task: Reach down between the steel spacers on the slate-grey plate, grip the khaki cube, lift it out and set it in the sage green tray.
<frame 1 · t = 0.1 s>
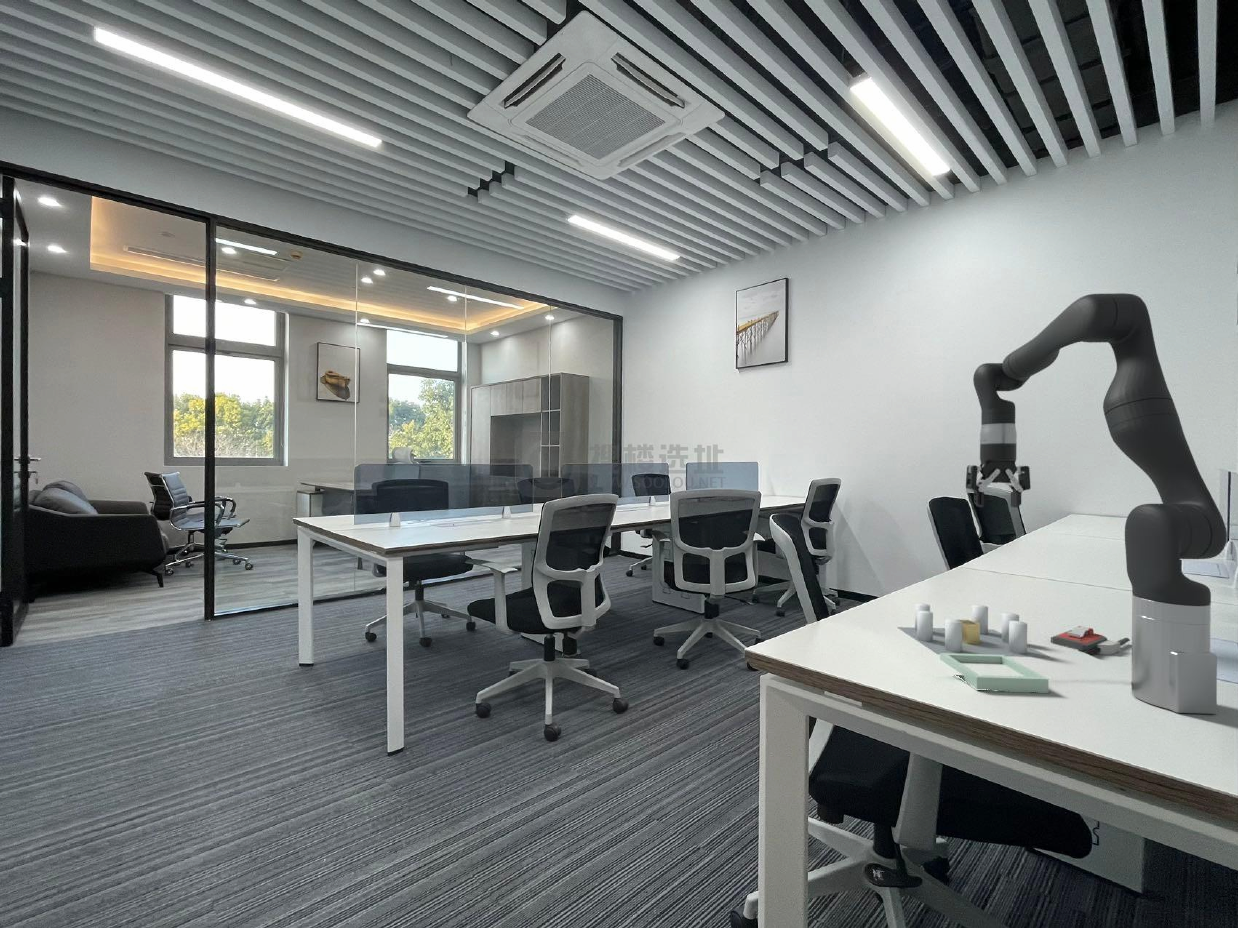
hand: (997, 506, 135), 29 cm above the table, tool pointing down, fingers open, 8 cm apart
spacer plate: (967, 646, 117), on the table
tray: (990, 678, 100), on the table
khaki cube: (967, 640, 117), point 1 cm above the table, touching spacer plate
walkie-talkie: (1090, 649, 118), on the table
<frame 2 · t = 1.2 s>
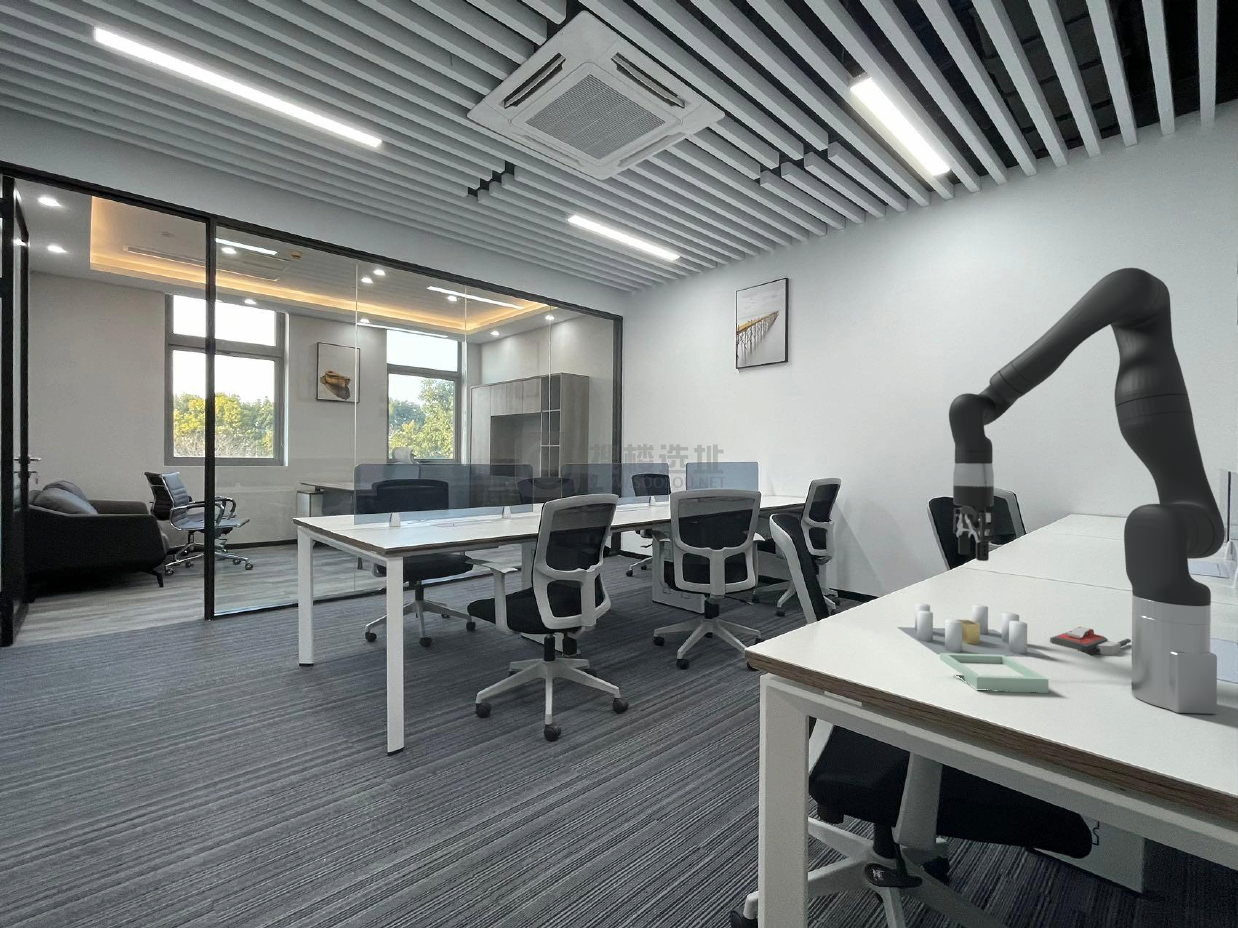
hand: (972, 557, 119), 19 cm above the table, tool pointing down, fingers open, 8 cm apart
nothing on the table moved.
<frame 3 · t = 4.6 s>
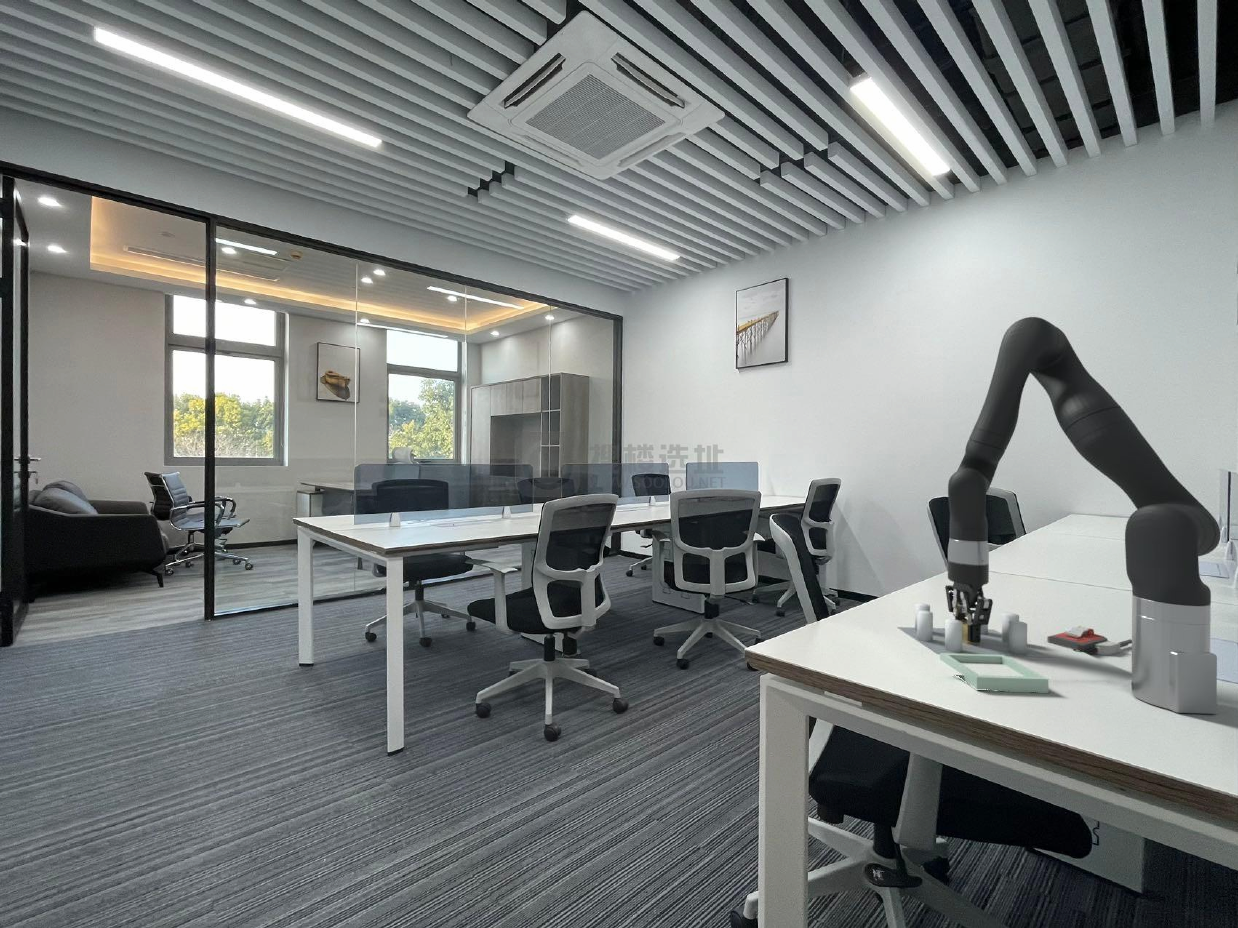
hand: (967, 638, 117), 2 cm above the table, tool pointing down, fingers closed on khaki cube, 4 cm apart
khaki cube: (967, 640, 117), point 1 cm above the table, touching gripper, spacer plate
everything else where it was.
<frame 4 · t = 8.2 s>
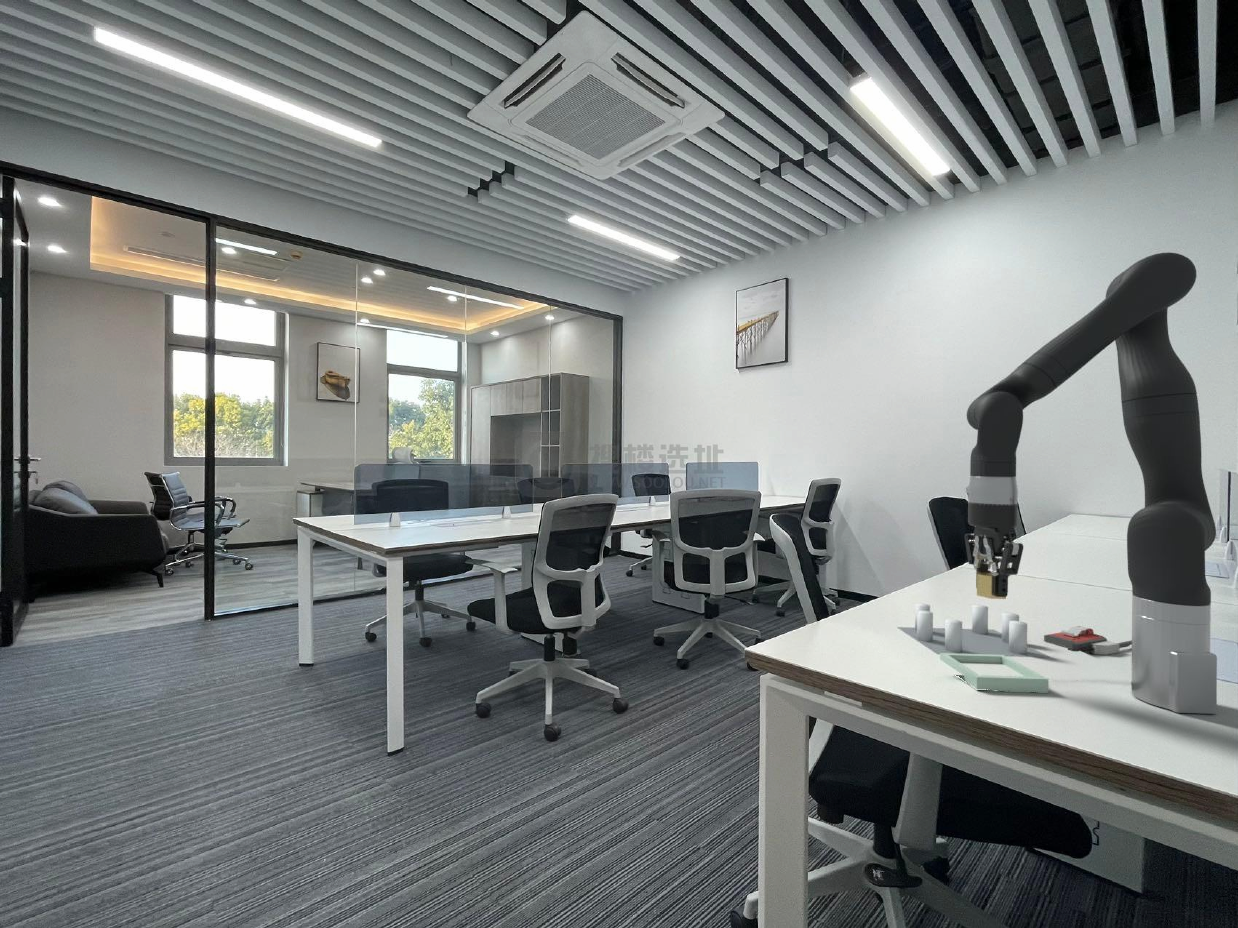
hand: (991, 592, 100), 16 cm above the table, tool pointing down, fingers closed on khaki cube, 4 cm apart
khaki cube: (991, 595, 100), point 15 cm above the table, touching gripper
when the fingers open (3 cm above the table, at t = 11.1 s): khaki cube drops 2 cm, resting on tray.
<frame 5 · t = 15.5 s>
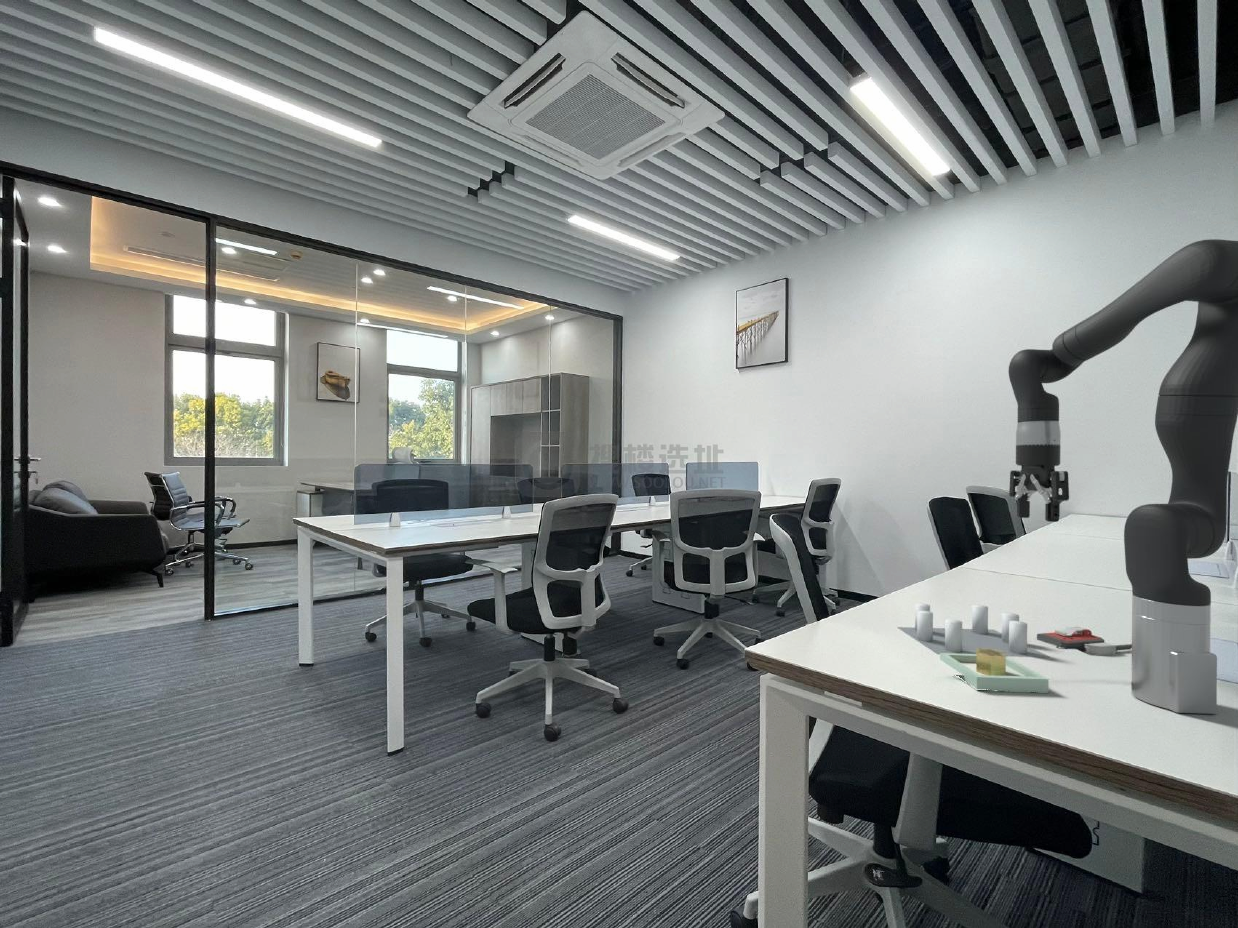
hand: (1037, 519, 114), 28 cm above the table, tool pointing down, fingers open, 8 cm apart
khaki cube: (990, 674, 100), point 1 cm above the table, touching tray
at the end: khaki cube inside the target area on the tray (0.1 cm from its centre), point 0.8 cm above the tray's base; the gripper is holding nothing; khaki cube tilted 0° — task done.
